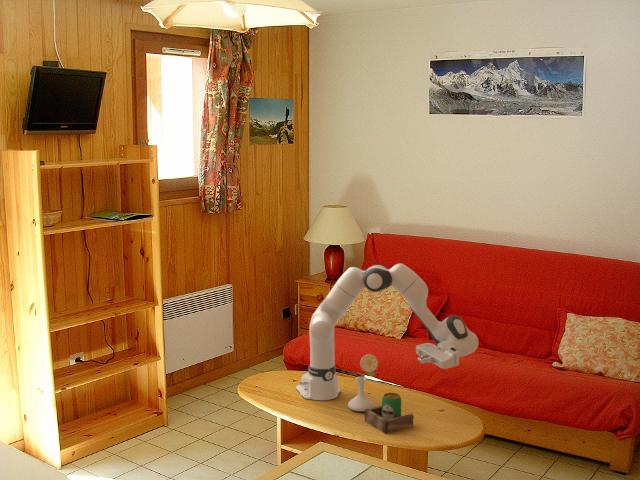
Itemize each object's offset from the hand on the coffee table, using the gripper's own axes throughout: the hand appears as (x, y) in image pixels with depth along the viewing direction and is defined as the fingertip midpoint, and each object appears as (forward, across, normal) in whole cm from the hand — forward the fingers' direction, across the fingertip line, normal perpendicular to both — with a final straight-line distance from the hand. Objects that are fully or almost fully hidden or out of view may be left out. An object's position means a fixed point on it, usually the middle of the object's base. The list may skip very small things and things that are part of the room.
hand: (419, 360), depth 320 cm
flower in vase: (+20, -16, +23) cm, 35 cm away
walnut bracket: (+19, +2, +22) cm, 29 cm away
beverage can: (+18, +3, +22) cm, 29 cm away
